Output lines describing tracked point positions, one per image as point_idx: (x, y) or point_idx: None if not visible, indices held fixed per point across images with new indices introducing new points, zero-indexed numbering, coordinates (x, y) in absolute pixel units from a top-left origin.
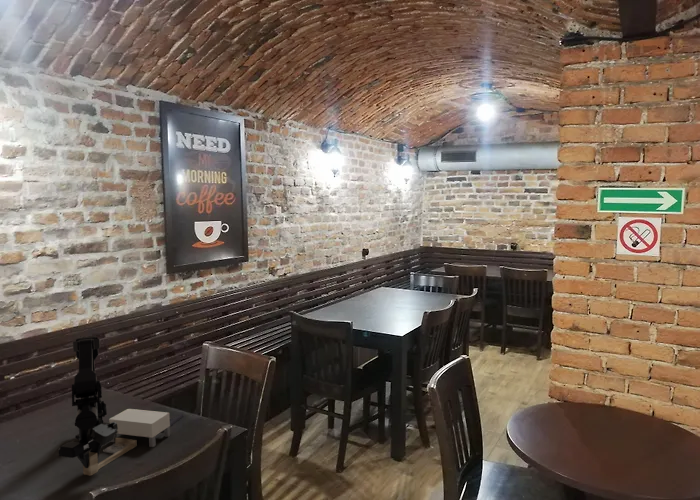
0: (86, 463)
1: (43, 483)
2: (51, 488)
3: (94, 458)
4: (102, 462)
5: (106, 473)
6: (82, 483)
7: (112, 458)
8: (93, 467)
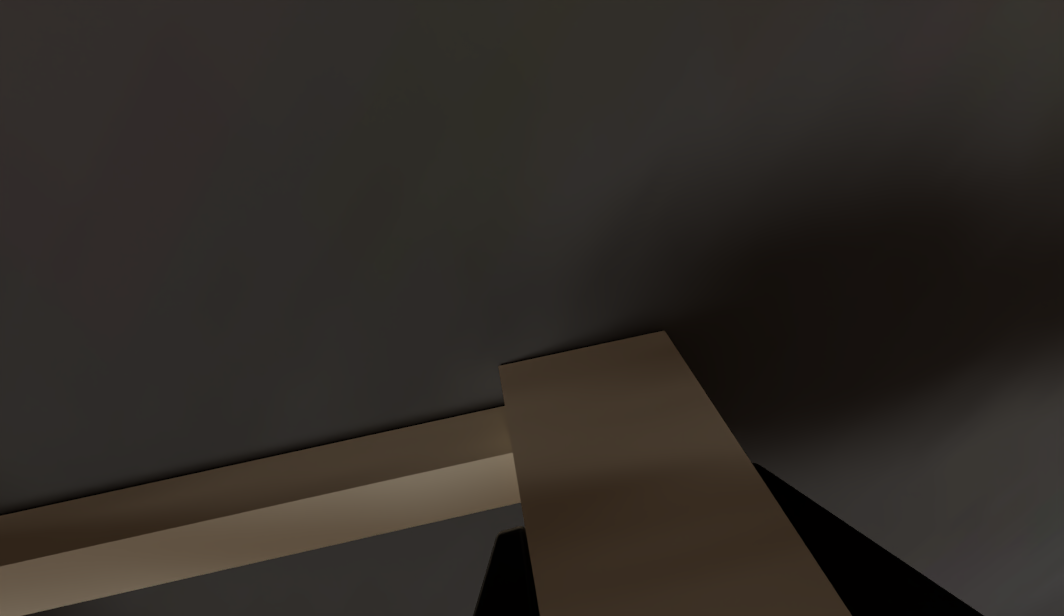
0: (869, 548)
1: (948, 583)
2: (1052, 444)
3: (660, 608)
4: (340, 507)
5: (477, 156)
6: (905, 220)
7: (106, 521)
8: (633, 425)
